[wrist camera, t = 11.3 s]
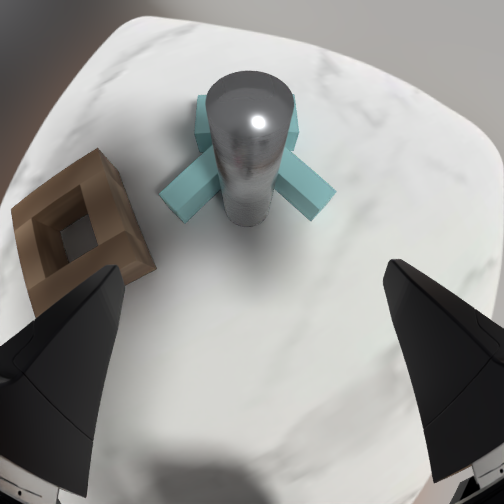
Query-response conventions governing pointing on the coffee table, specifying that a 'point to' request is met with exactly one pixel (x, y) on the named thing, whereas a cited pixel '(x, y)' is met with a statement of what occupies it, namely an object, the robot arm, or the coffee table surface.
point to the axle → (248, 140)
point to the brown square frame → (67, 212)
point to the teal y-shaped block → (207, 181)
